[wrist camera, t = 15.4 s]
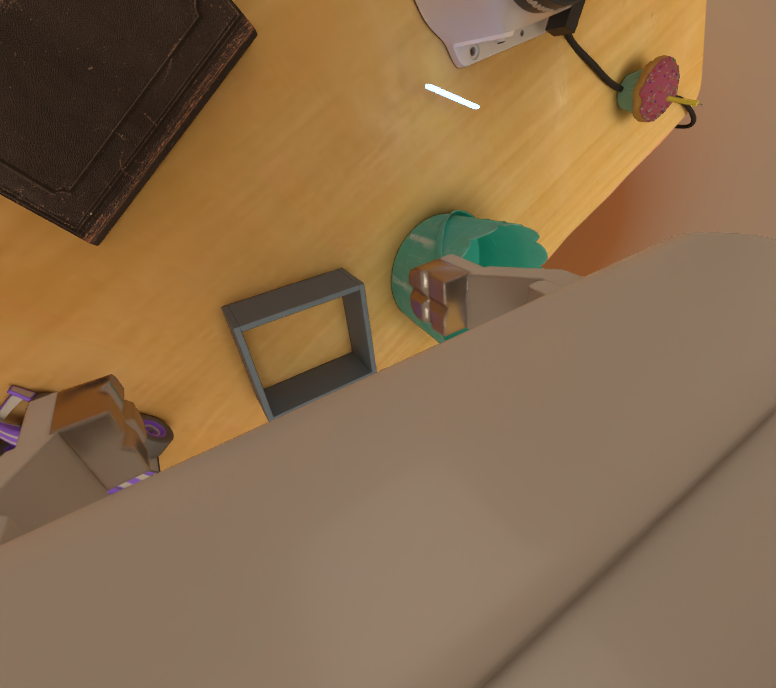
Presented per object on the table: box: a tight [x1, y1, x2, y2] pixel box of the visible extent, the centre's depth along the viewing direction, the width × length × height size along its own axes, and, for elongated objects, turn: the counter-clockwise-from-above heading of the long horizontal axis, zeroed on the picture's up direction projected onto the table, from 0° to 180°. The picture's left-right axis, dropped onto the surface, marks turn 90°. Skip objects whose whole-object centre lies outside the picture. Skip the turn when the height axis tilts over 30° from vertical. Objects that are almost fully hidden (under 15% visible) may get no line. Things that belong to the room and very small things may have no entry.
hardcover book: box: [0, 0, 257, 246], centre depth 28 cm, size 16×23×2 cm
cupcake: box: [617, 55, 703, 122], centre depth 58 cm, size 9×8×12 cm
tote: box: [221, 268, 377, 422], centre depth 48 cm, size 15×14×6 cm
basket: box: [391, 210, 548, 343], centre depth 53 cm, size 19×18×13 cm
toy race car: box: [0, 385, 174, 497], centre depth 39 cm, size 10×15×6 cm, turn 43°
